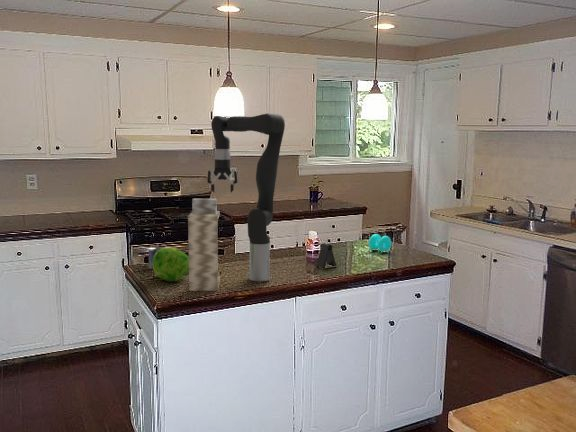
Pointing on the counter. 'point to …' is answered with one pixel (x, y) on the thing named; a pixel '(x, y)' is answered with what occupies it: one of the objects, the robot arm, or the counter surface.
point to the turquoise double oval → (380, 242)
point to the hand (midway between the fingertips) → (222, 192)
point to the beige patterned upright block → (203, 252)
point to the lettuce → (170, 264)
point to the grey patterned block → (204, 206)
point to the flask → (152, 253)
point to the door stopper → (325, 256)
